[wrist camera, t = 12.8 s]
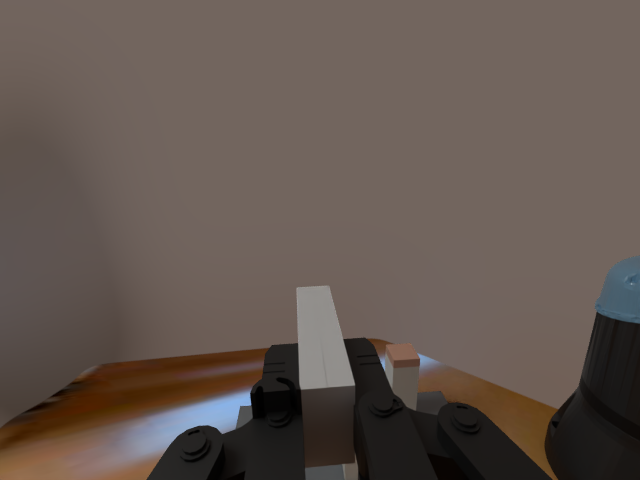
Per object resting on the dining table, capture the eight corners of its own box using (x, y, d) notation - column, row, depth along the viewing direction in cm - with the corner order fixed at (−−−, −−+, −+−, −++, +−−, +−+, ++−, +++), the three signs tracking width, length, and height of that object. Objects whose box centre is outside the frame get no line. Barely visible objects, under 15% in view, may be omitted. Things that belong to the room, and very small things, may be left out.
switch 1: (406, 398, 41) (410, 343, 39) (415, 417, 38) (420, 358, 36) (383, 400, 41) (386, 344, 39) (390, 419, 38) (393, 360, 36)
